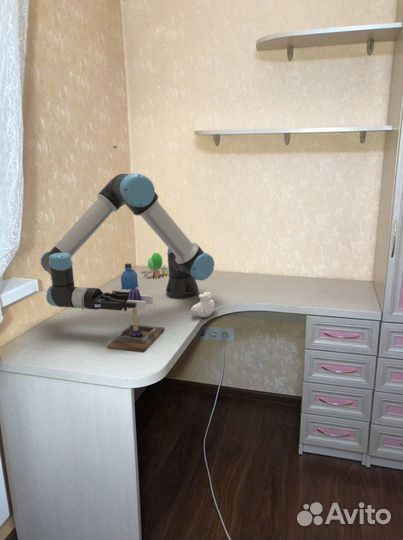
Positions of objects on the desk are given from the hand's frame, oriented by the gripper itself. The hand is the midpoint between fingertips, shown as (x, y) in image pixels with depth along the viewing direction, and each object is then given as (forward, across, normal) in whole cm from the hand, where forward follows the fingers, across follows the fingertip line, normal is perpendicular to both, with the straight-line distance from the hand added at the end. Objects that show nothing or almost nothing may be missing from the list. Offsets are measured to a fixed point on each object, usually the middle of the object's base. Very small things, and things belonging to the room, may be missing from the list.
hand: (148, 302), depth 137 cm
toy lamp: (-5, 0, -13) cm, 14 cm away
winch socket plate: (-5, 0, -14) cm, 15 cm away
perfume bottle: (-36, -55, -14) cm, 67 cm away
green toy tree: (-32, -78, -14) cm, 85 cm away
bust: (+11, -26, -14) cm, 32 cm away
